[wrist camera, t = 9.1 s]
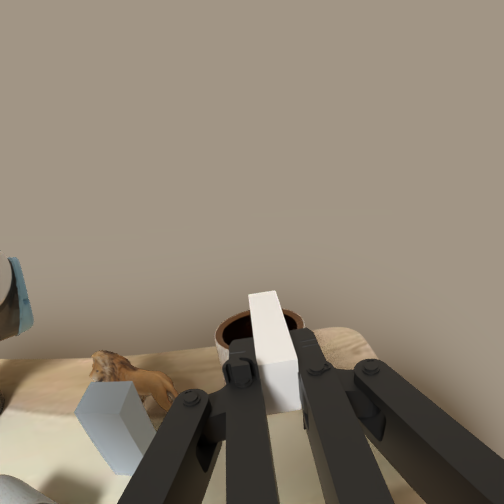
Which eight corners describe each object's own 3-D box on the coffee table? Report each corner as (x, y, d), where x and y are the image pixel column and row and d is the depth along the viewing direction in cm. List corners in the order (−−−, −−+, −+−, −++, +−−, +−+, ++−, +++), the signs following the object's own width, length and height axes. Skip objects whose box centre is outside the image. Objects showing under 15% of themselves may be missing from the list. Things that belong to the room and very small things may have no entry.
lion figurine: (103, 413, 36) (77, 361, 33) (120, 391, 41) (99, 341, 38) (198, 430, 33) (177, 372, 30) (210, 401, 38) (194, 345, 35)
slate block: (156, 476, 26) (119, 414, 23) (115, 474, 25) (74, 412, 23) (162, 444, 30) (132, 381, 28) (124, 444, 30) (90, 381, 28)
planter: (327, 380, 38) (324, 318, 36) (270, 429, 31) (258, 366, 29) (268, 356, 46) (259, 300, 44) (212, 393, 39) (195, 334, 37)
